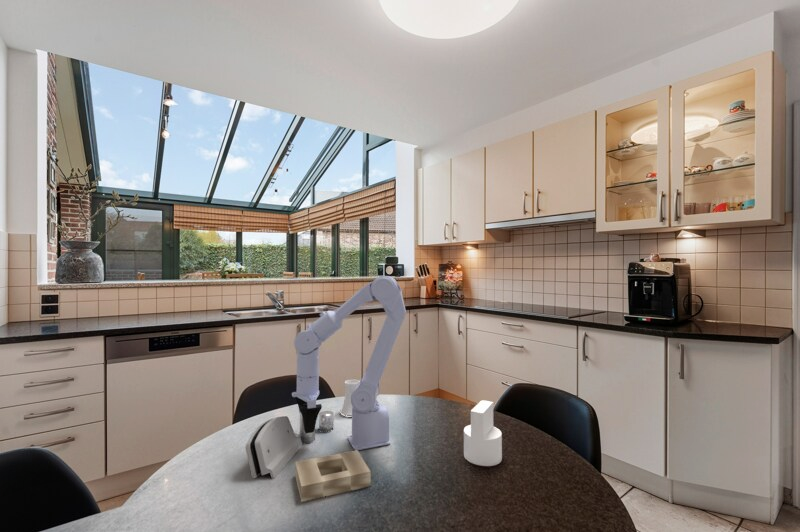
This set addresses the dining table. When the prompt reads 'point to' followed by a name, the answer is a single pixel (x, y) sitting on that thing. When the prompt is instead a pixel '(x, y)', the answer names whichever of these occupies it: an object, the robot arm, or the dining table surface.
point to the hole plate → (331, 475)
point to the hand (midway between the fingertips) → (307, 426)
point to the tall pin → (305, 436)
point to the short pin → (326, 421)
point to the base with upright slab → (482, 437)
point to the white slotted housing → (271, 447)
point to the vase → (348, 396)
